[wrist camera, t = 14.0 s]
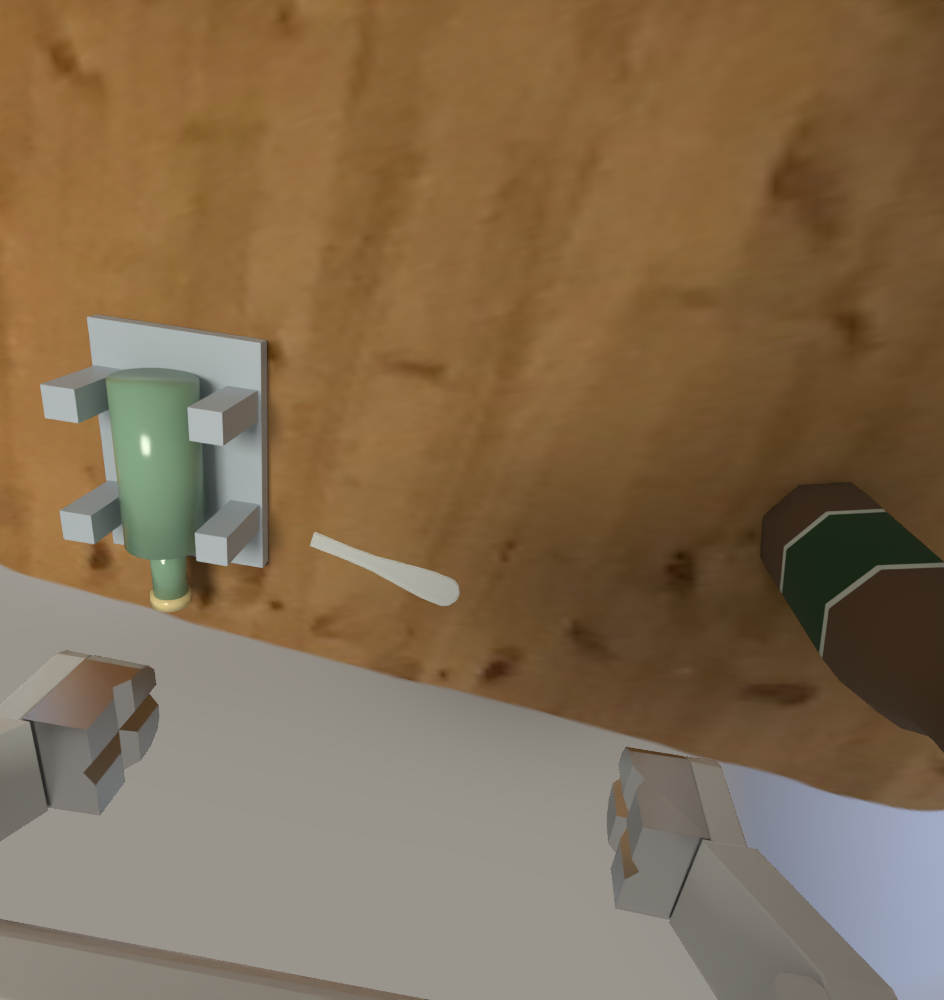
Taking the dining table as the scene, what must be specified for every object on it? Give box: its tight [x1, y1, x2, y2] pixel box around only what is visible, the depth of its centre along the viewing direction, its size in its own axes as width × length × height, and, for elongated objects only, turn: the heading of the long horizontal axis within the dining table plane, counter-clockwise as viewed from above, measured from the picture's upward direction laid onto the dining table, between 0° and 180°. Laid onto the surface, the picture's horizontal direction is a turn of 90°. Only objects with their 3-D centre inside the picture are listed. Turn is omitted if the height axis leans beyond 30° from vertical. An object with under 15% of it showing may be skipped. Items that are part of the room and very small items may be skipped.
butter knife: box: [310, 532, 460, 606], centre depth 46 cm, size 1×24×3 cm
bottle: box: [106, 368, 207, 612], centre depth 42 cm, size 16×5×5 cm, turn 173°
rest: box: [40, 314, 268, 568], centre depth 41 cm, size 16×11×6 cm
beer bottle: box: [761, 483, 944, 752], centre depth 31 cm, size 8×8×24 cm
